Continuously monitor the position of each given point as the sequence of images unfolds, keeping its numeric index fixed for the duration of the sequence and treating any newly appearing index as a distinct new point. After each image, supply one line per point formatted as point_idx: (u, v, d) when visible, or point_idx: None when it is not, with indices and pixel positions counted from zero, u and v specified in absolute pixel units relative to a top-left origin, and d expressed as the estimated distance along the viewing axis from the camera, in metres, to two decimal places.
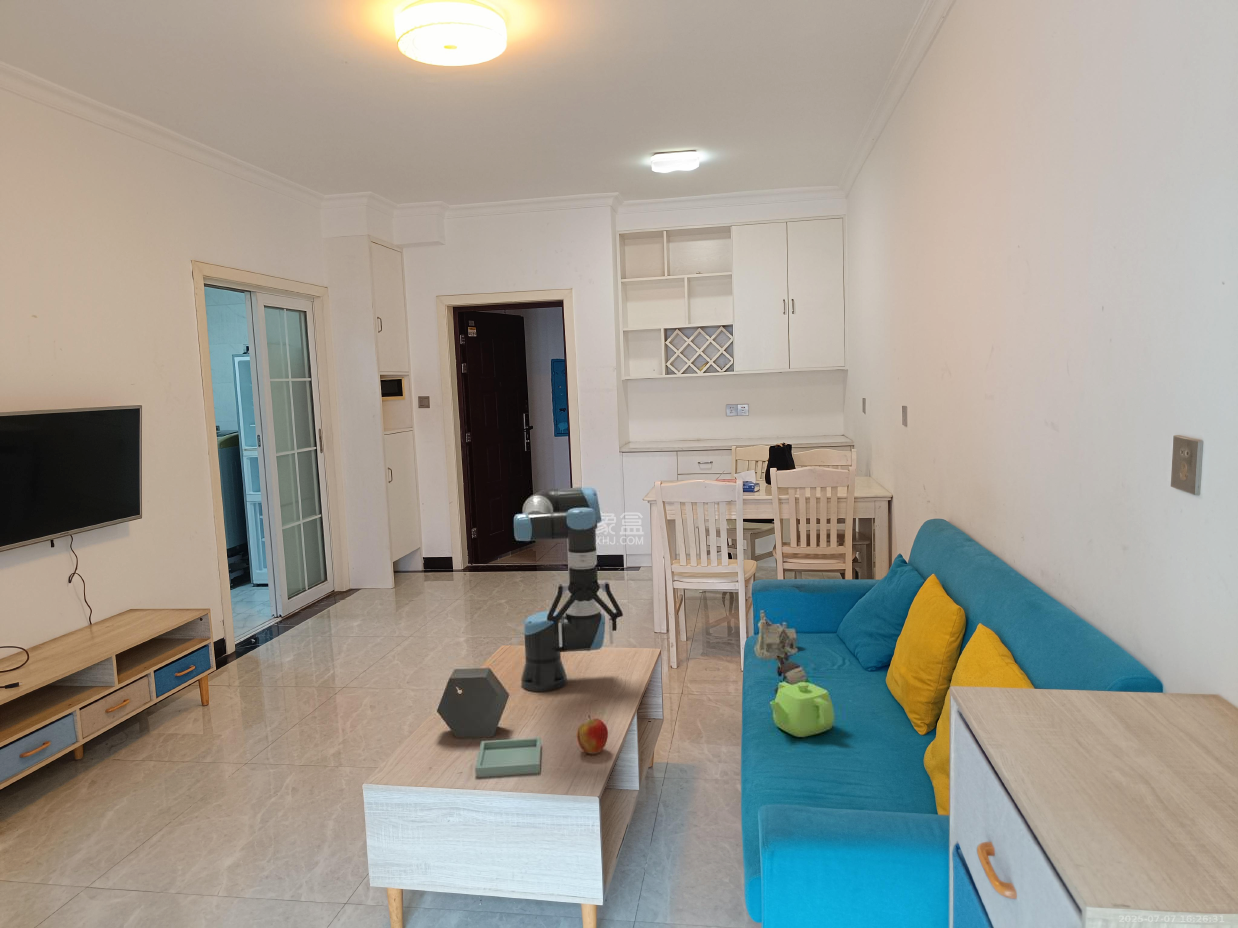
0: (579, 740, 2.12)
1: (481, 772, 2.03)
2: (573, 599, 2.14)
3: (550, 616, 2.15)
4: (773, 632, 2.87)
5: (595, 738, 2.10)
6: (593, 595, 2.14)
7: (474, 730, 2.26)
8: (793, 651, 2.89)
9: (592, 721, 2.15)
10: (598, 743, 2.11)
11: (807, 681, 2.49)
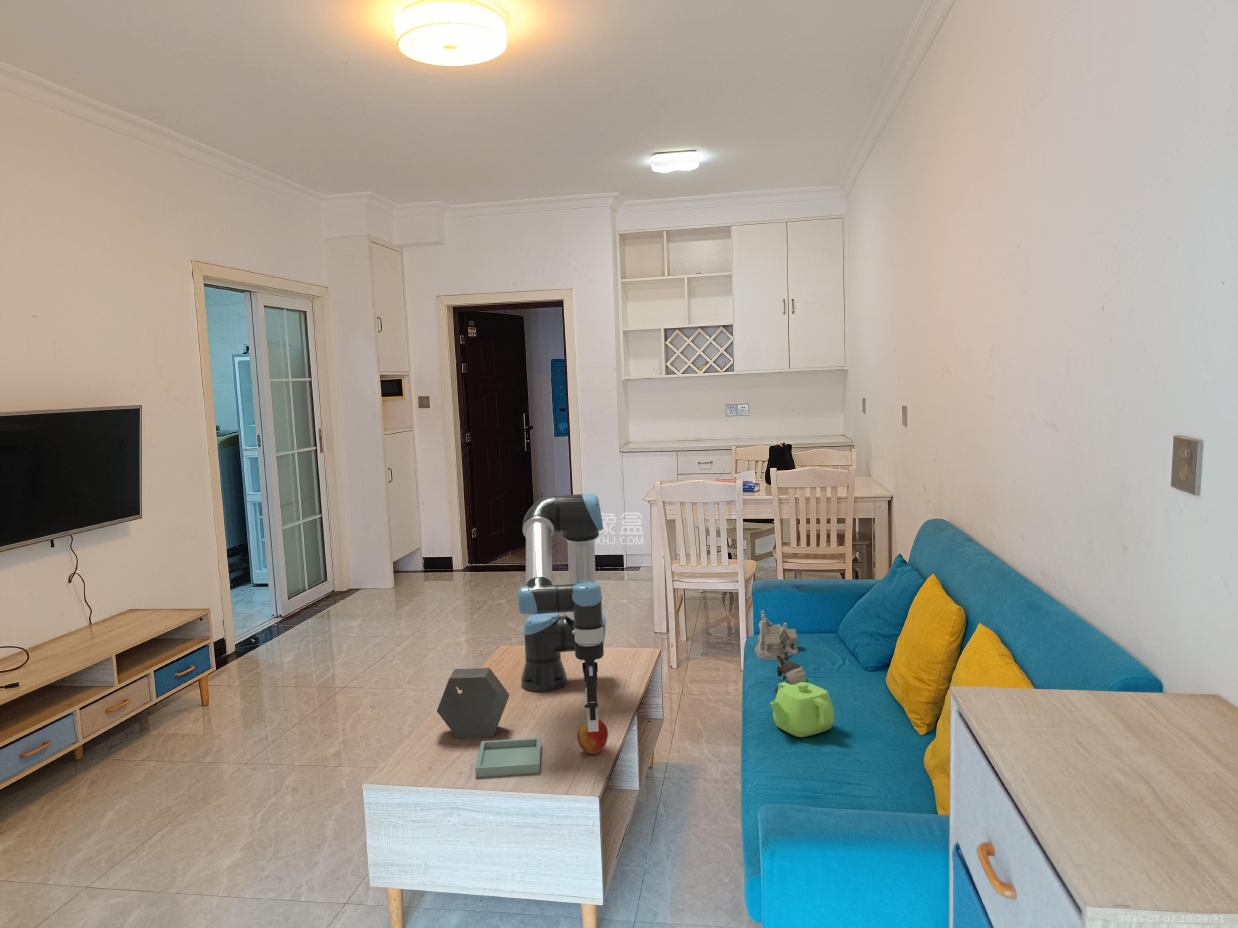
0: (579, 740, 2.12)
1: (481, 772, 2.03)
2: None
3: None
4: (774, 632, 2.86)
5: (595, 738, 2.10)
6: None
7: (474, 730, 2.26)
8: (794, 651, 2.89)
9: None
10: (598, 743, 2.11)
11: (807, 681, 2.49)
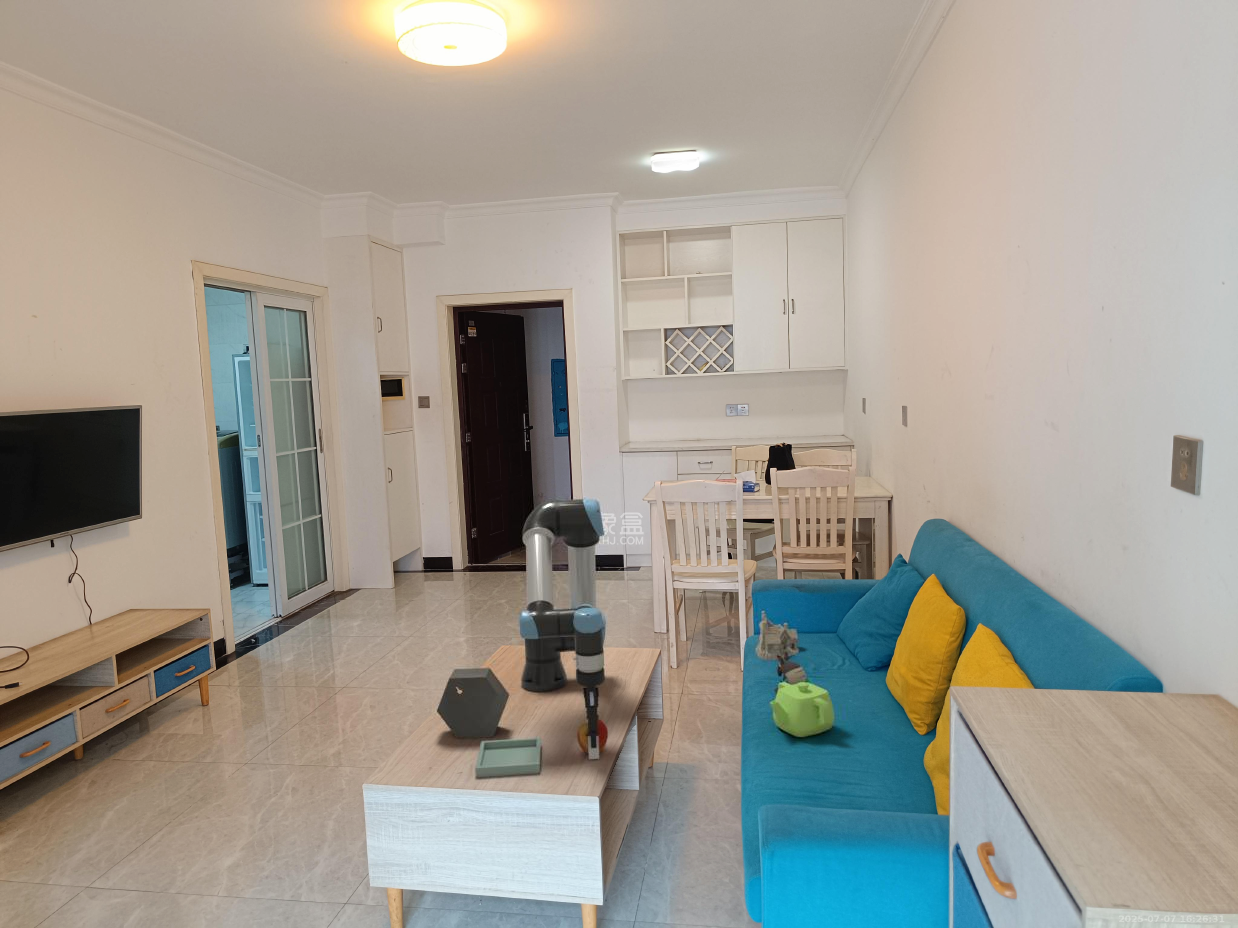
0: (579, 740, 2.12)
1: (481, 772, 2.03)
2: None
3: None
4: (774, 632, 2.86)
5: None
6: None
7: (474, 730, 2.26)
8: (794, 652, 2.89)
9: None
10: None
11: (807, 681, 2.49)
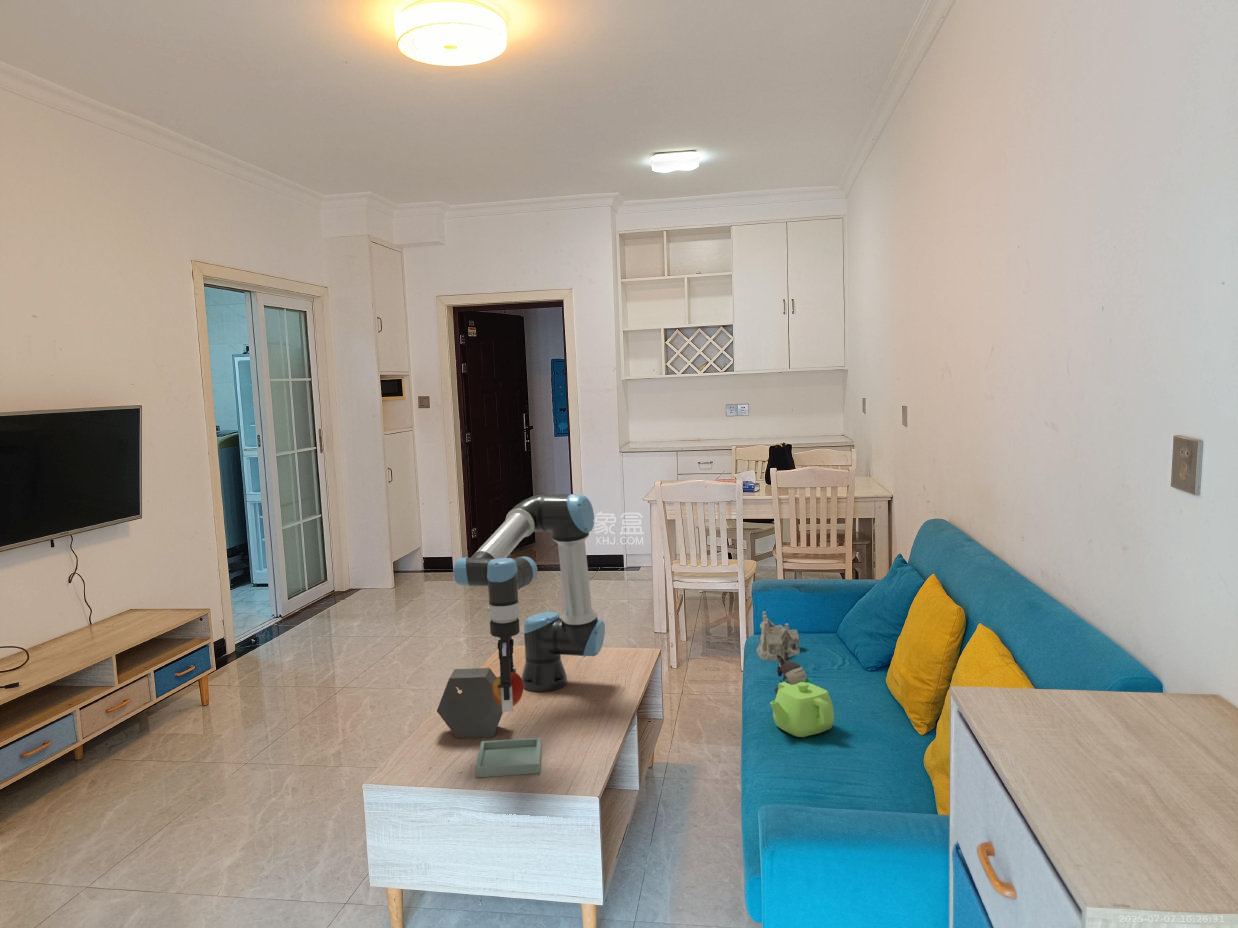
0: (493, 693, 2.07)
1: (481, 772, 2.03)
2: None
3: None
4: (776, 633, 2.85)
5: None
6: None
7: (474, 730, 2.26)
8: (796, 652, 2.88)
9: None
10: (512, 696, 2.06)
11: (807, 681, 2.49)
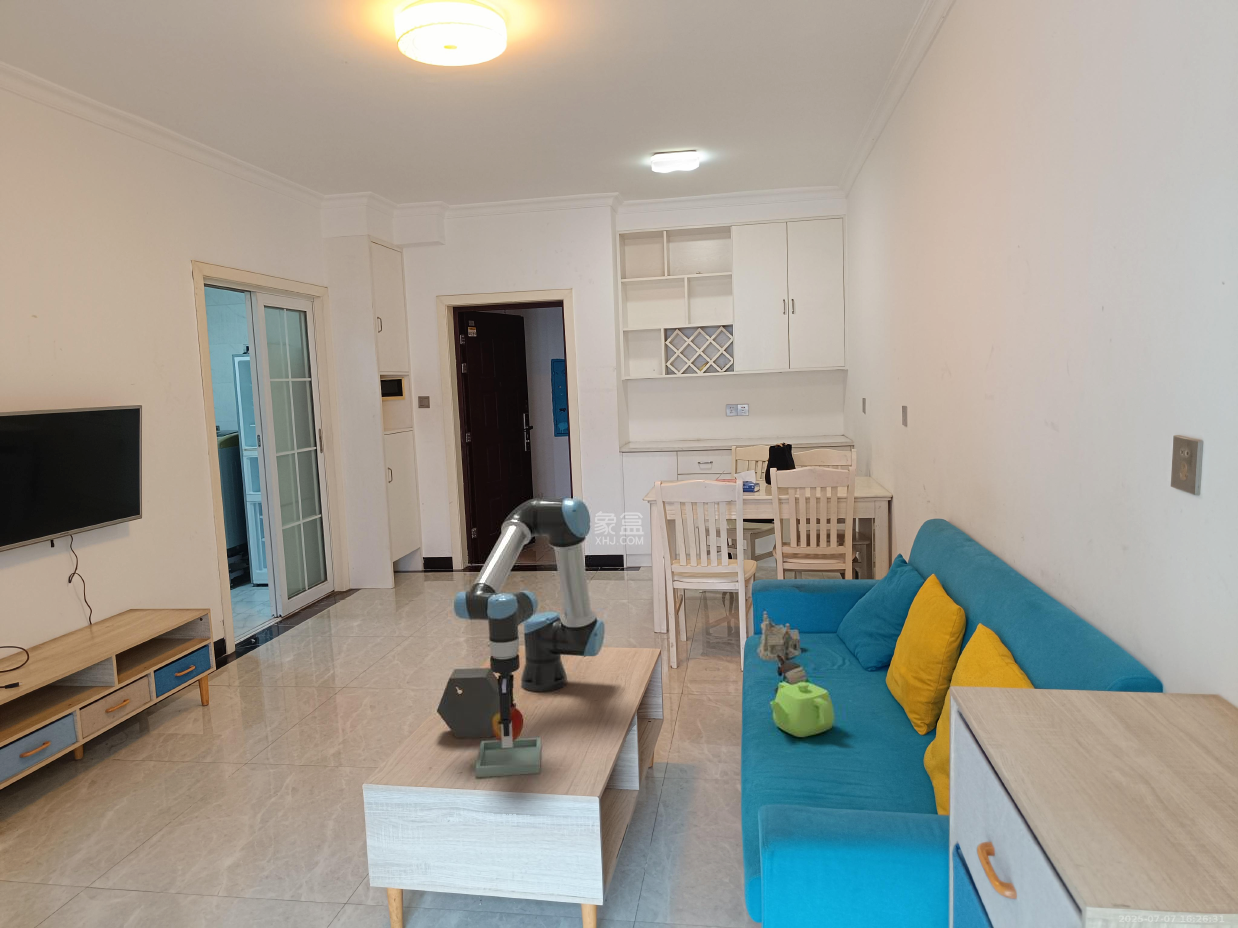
0: (493, 728, 2.08)
1: (481, 772, 2.03)
2: None
3: None
4: (777, 633, 2.85)
5: None
6: None
7: (474, 730, 2.26)
8: (797, 652, 2.88)
9: None
10: (512, 731, 2.07)
11: (807, 681, 2.49)
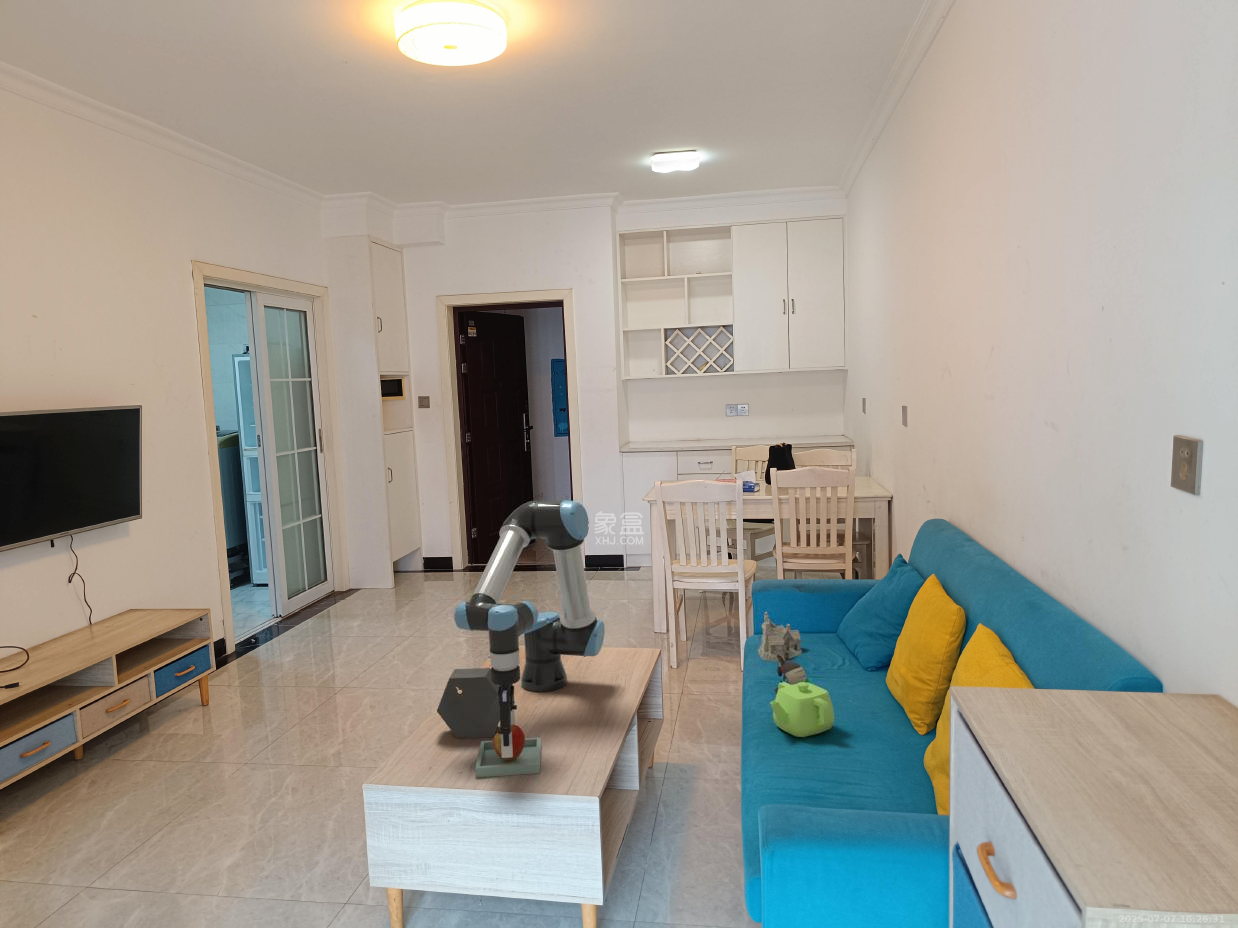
0: (495, 746, 2.08)
1: (481, 772, 2.03)
2: None
3: None
4: (778, 634, 2.85)
5: None
6: (499, 698, 2.07)
7: (474, 730, 2.26)
8: (797, 653, 2.88)
9: None
10: (513, 750, 2.07)
11: (807, 681, 2.50)
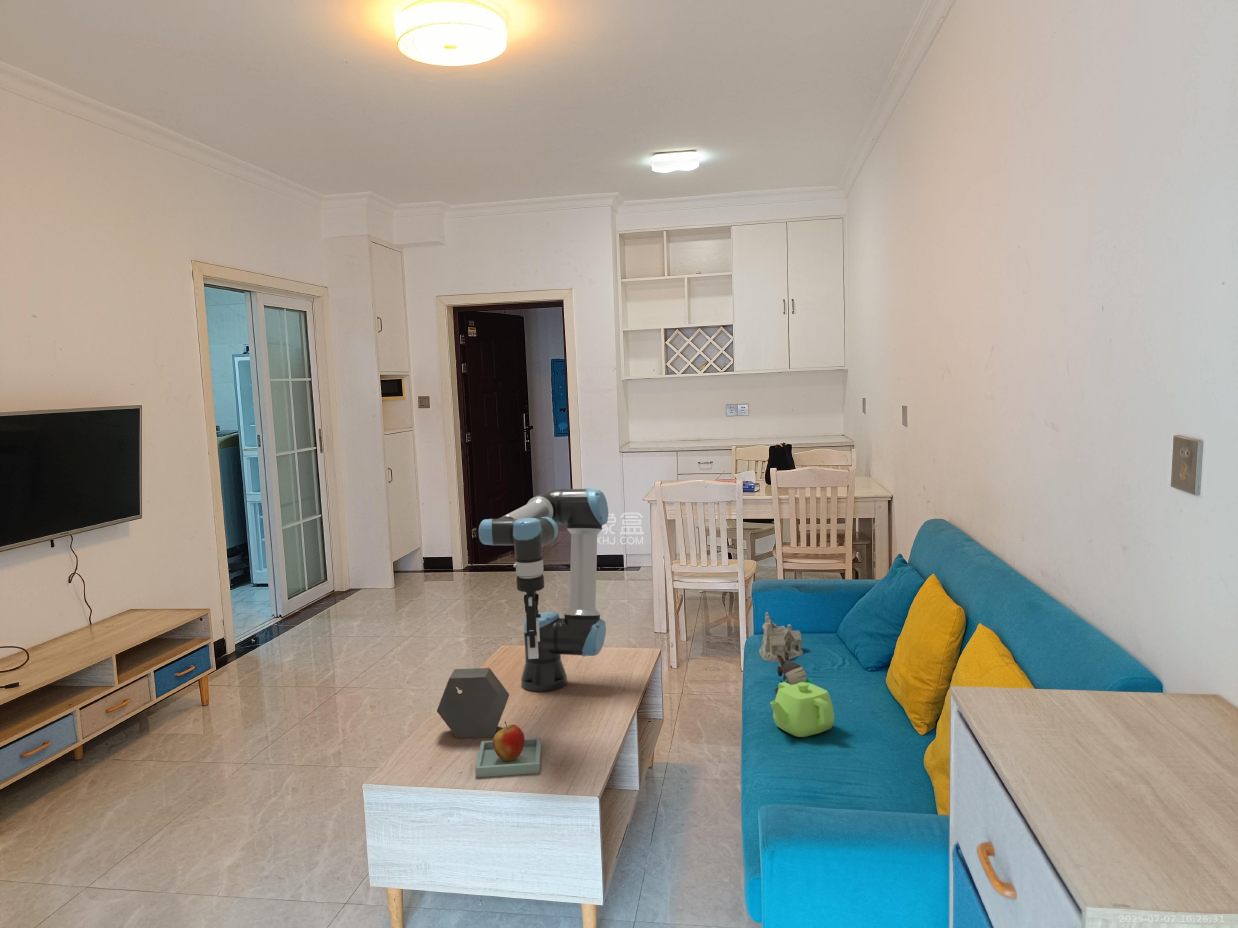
0: (494, 747, 2.09)
1: (481, 772, 2.03)
2: None
3: None
4: (779, 634, 2.84)
5: (510, 744, 2.07)
6: None
7: (474, 730, 2.26)
8: (798, 653, 2.87)
9: (509, 727, 2.12)
10: (513, 750, 2.07)
11: (807, 681, 2.50)
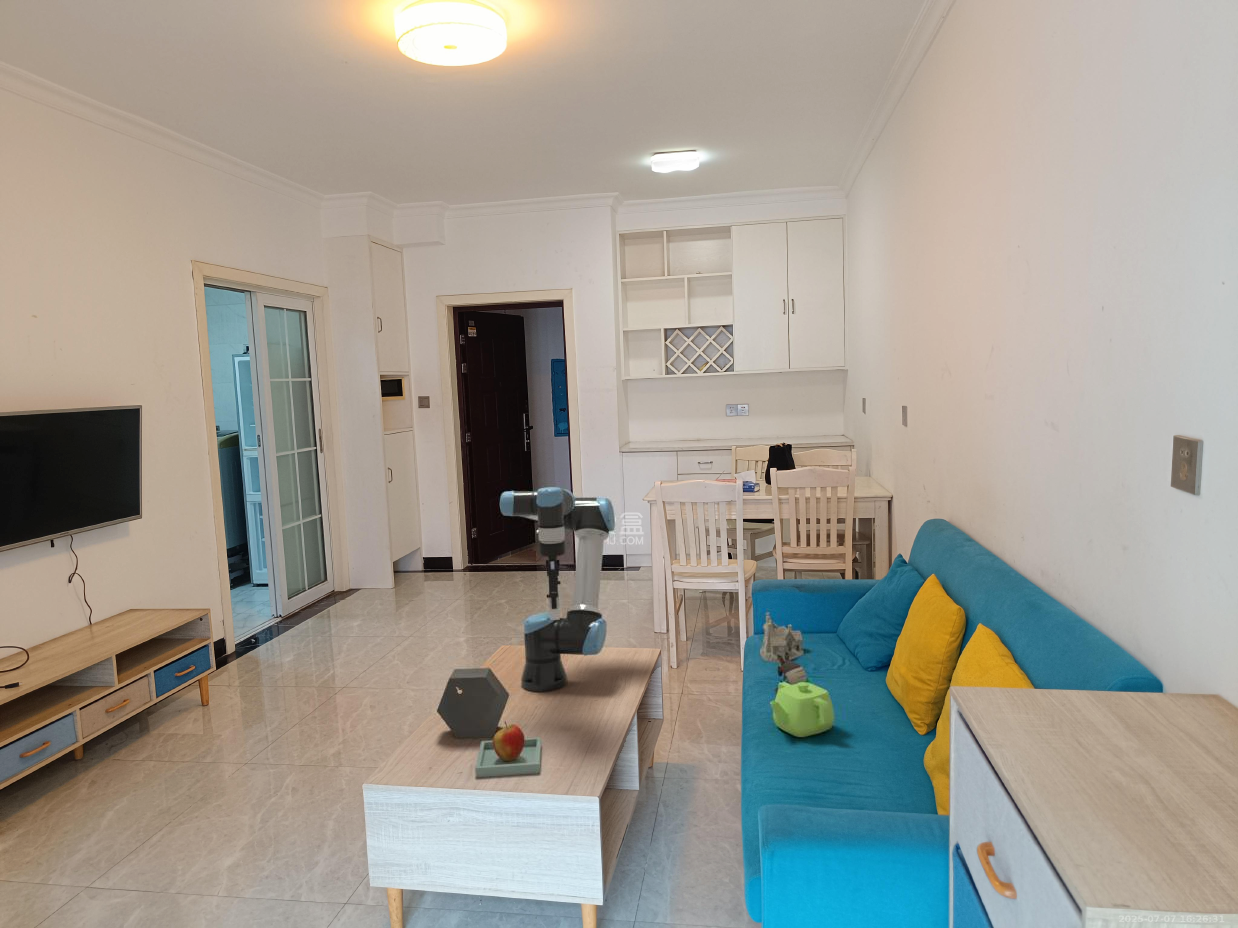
0: (494, 747, 2.09)
1: (481, 772, 2.03)
2: None
3: None
4: (780, 634, 2.84)
5: (510, 744, 2.07)
6: None
7: (474, 730, 2.26)
8: (799, 653, 2.87)
9: (509, 727, 2.12)
10: (513, 750, 2.07)
11: (807, 681, 2.50)
